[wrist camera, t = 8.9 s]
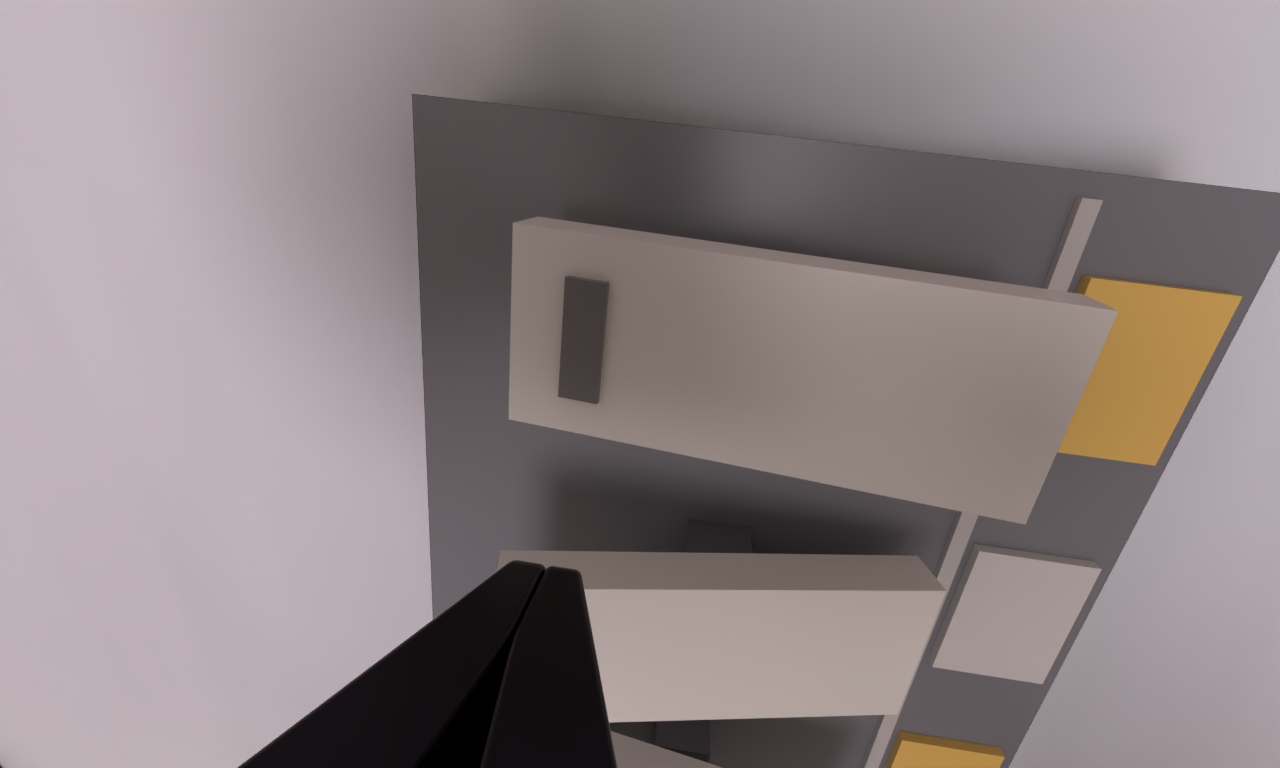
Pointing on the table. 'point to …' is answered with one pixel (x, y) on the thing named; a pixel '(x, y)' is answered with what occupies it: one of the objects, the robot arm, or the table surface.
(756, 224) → the console
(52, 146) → the table surface
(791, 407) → the rocker
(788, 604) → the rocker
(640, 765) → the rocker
